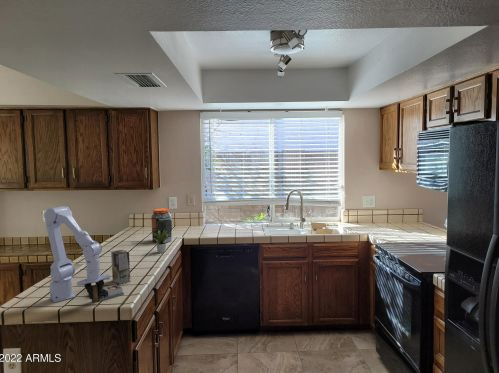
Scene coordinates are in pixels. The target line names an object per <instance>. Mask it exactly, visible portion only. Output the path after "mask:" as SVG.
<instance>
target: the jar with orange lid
mask: <svg viewBox="0 0 499 373" xmlns="http://www.w3.org/2000/svg"><path fill="white" fill-rule="evenodd" d="M150 218H151V233H152V234H151V235H152V236H151V237H152V238H156V239H157V240H158V238H157V236H156V235H155V234H158V233H157V232H158V231H159V232H161V235H162V233H163V231H164V230H165V231H164V233H165V232H166V231H167V232H166V234H165V235H164V236H166V235H168V236H166V237H167V238H168V237H169V238H170V239H167V238H166V237H165V239H167V240H165V241H164V242H165V243H169V242H171V241H172V240H173V221H172V220H173V219H172V214H171V213H170V209H169V208H156V209H155V208H154V209H153V210H152V214H151V217H150ZM169 232H170V234H168V233H169ZM154 233H155V234H154ZM171 234H172V235H171ZM152 238H151V239H152ZM156 239H152V242H154V243H155V244H156V243H159V242H158V241H157V242H156Z"/></svg>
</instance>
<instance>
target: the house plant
mask: <svg viewBox="0 0 499 373" xmlns="http://www.w3.org/2000/svg"><path fill="white" fill-rule="evenodd" d="M164 231H165V230H164ZM164 231H163V233H162V235H161V232H159V231H158V232H157V233H158V234H155V233H154V234H155V235H156V236H157V238H158V240H157V239H156V238H151V239H152V240H153V239H156V242H157V241H158V242H159V243H155V245H156V251H157V253H159V254H163V253H166V249H167V242H164V241H165V240H167V239H170V238H169V237H168V238H167V237H166V236H168V235H166V236H164V235H165V234H166V232H167V231H166V232H165V233H164ZM168 234H170V232H169V233H168ZM171 235H172V236H173V233H172V234H171ZM165 237H166V238H167V239H165Z"/></svg>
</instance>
